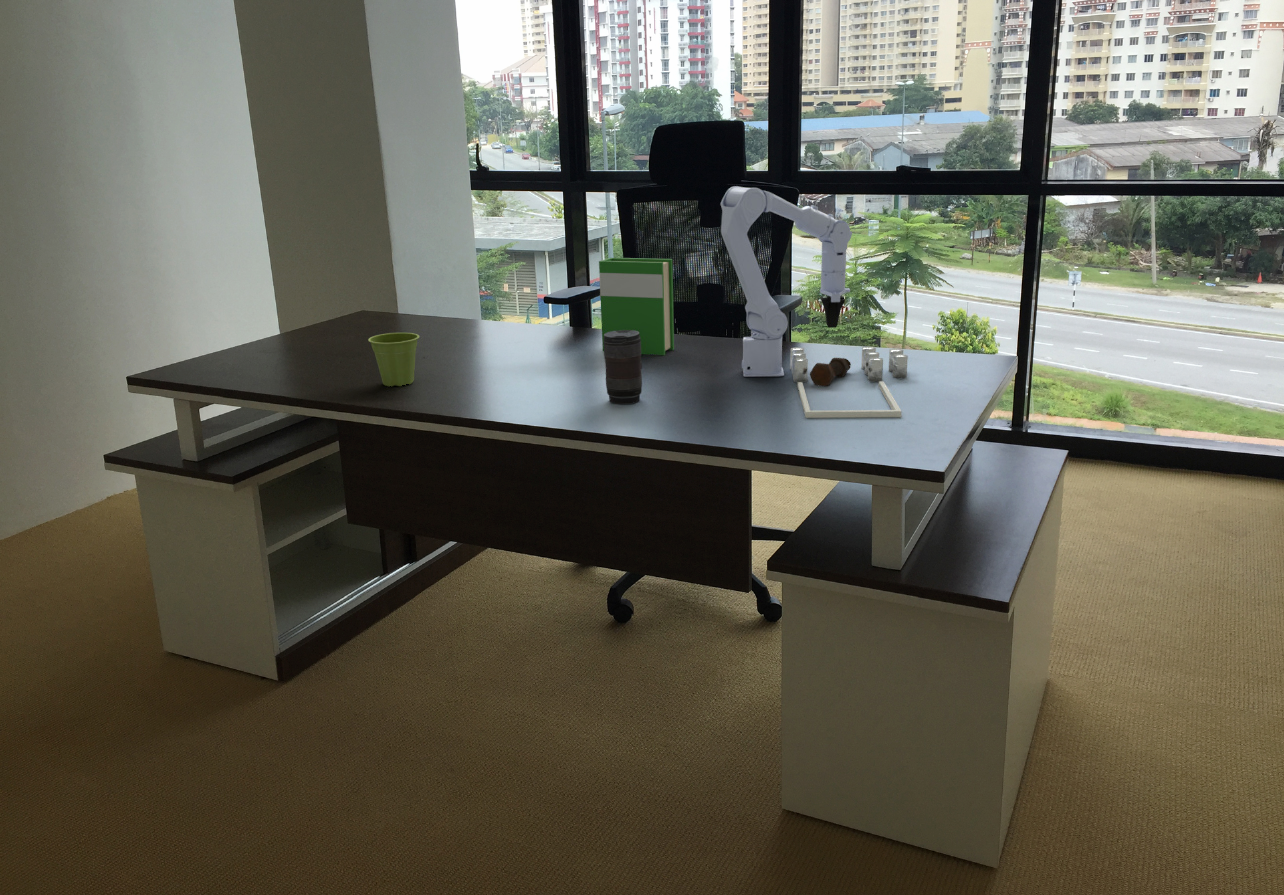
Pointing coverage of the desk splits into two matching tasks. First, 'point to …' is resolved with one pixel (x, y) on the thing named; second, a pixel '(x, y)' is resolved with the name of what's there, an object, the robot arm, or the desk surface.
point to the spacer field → (869, 364)
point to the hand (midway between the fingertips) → (831, 327)
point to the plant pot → (395, 357)
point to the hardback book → (638, 300)
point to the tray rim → (852, 413)
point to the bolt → (829, 371)
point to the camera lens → (623, 366)
